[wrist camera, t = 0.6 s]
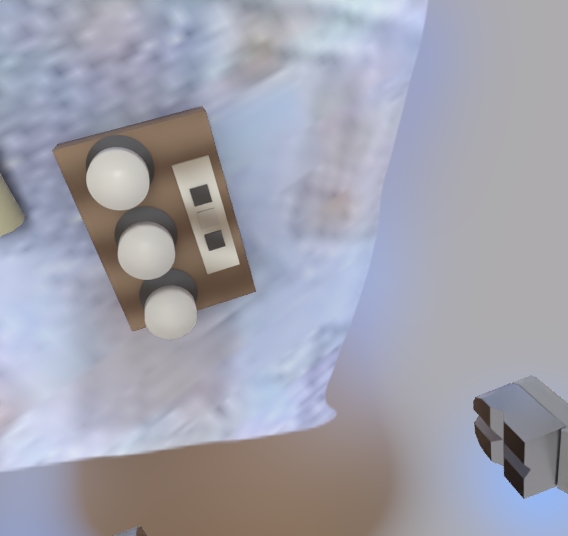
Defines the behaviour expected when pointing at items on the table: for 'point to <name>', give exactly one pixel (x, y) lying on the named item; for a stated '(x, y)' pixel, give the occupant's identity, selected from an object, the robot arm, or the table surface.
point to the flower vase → (9, 210)
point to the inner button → (118, 178)
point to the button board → (166, 210)
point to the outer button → (170, 312)
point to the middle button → (146, 250)
